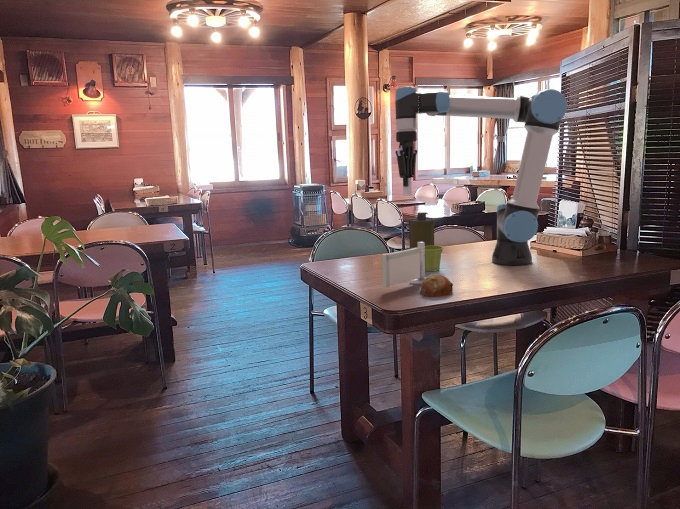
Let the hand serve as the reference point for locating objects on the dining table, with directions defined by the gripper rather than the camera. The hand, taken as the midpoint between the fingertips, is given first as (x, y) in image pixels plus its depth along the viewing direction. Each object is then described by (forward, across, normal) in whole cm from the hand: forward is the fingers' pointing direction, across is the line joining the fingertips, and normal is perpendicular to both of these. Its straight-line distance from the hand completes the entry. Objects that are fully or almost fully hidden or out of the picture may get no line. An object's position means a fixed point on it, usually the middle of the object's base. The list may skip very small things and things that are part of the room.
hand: (407, 195), depth 209 cm
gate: (+27, +27, +12) cm, 40 cm away
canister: (+29, -17, -3) cm, 33 cm away
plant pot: (+29, -3, +8) cm, 30 cm away
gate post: (+28, +17, +14) cm, 36 cm away
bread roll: (+29, +28, +25) cm, 47 cm away
